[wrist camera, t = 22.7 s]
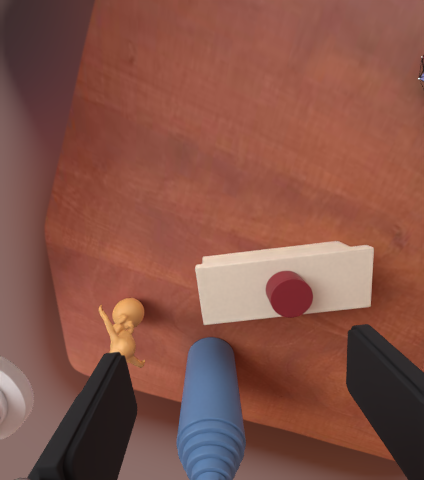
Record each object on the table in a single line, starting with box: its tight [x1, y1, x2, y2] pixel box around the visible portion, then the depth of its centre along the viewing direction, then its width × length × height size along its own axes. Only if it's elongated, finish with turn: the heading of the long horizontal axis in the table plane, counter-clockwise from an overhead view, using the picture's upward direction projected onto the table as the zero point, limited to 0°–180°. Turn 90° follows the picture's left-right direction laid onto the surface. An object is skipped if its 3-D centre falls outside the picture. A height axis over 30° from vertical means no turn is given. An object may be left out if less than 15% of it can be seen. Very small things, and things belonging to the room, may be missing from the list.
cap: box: [266, 271, 313, 318], centre depth 24 cm, size 4×4×2 cm
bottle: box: [177, 337, 246, 480], centre depth 26 cm, size 7×7×18 cm
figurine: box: [99, 298, 145, 368], centre depth 27 cm, size 8×6×12 cm
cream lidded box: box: [195, 241, 374, 325], centre depth 29 cm, size 19×7×6 cm, turn 97°
